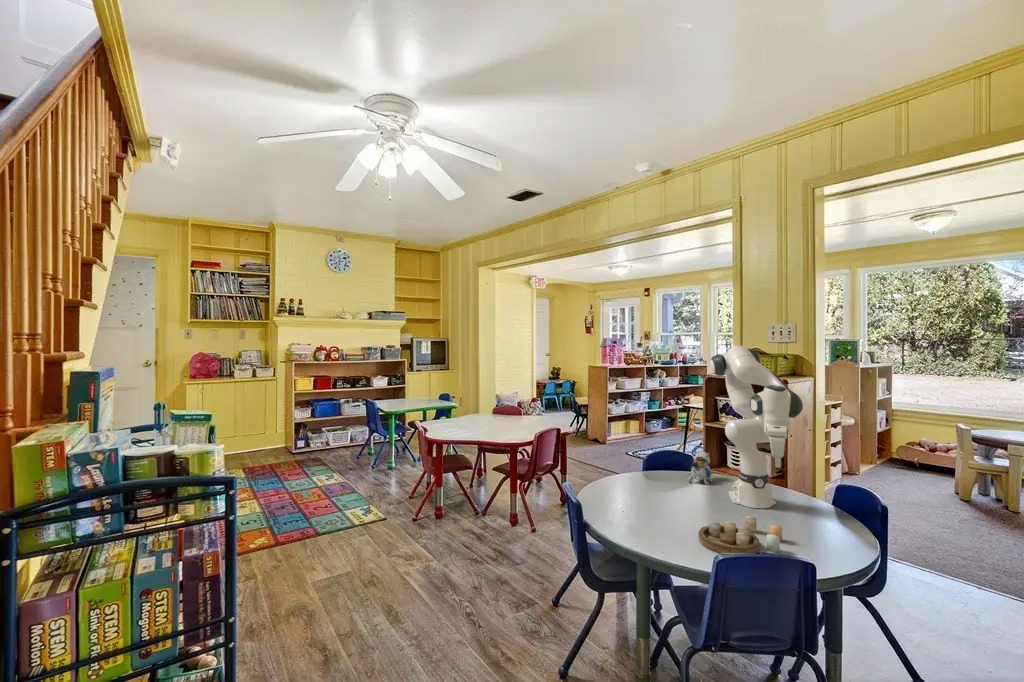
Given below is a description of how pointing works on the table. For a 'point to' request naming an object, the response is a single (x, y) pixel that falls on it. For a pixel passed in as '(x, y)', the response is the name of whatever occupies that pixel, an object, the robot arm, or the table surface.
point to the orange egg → (776, 531)
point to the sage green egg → (773, 543)
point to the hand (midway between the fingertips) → (778, 464)
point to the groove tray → (728, 538)
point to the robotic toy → (701, 467)
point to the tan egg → (750, 524)
